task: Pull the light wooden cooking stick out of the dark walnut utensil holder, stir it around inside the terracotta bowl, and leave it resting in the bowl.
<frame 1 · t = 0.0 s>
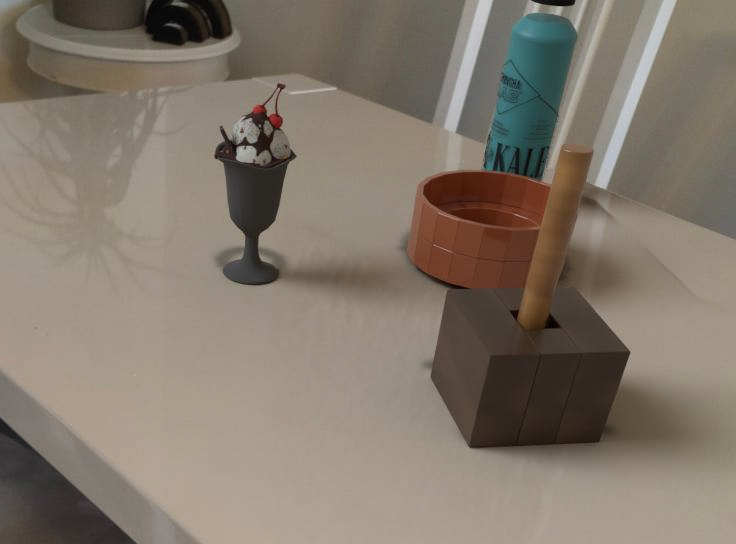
beverage bottle: (506, 201, 103), on the table
holder: (511, 408, 72), on the table
stick: (508, 407, 72), resting in holder
sundae: (250, 274, 87), on the table
bowl: (482, 264, 91), on the table
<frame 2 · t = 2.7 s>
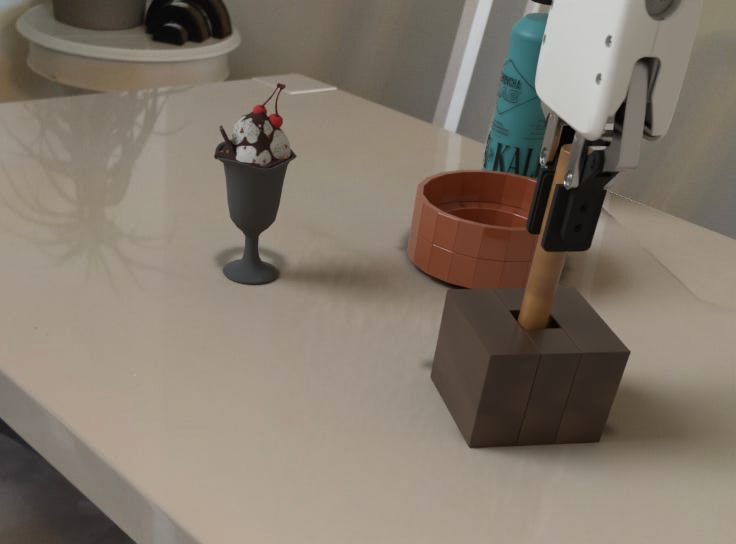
hand: (557, 238, 63), 13 cm above the table, tool pointing down, fingers closed on stick, 2 cm apart
stick: (509, 408, 72), resting in holder, touching gripper
everything else where it was.
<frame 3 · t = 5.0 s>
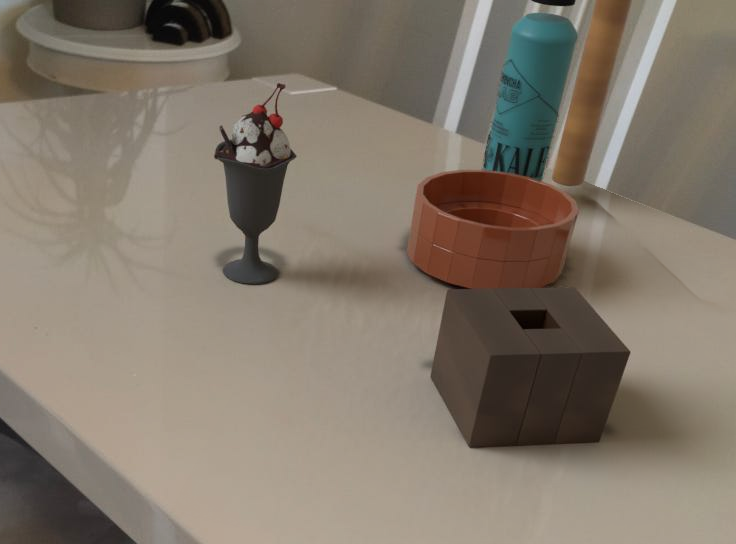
stick: (567, 180, 62), point 16 cm above the table, touching gripper
everything else where it was.
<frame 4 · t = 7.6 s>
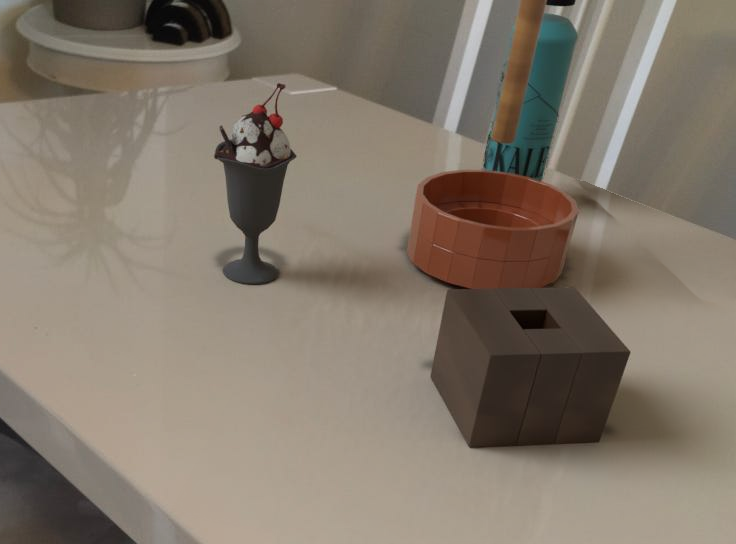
stick: (502, 139, 83), point 11 cm above the table, touching gripper
everything else where it was.
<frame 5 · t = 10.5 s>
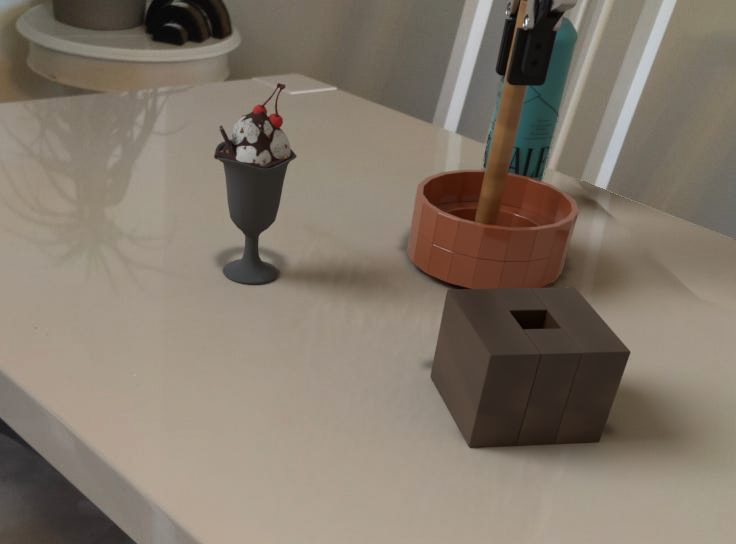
hand: (519, 77, 81), 15 cm above the table, tool pointing down, fingers closed on stick, 2 cm apart
stick: (484, 228, 90), point 3 cm above the table, touching gripper
everything else where it was.
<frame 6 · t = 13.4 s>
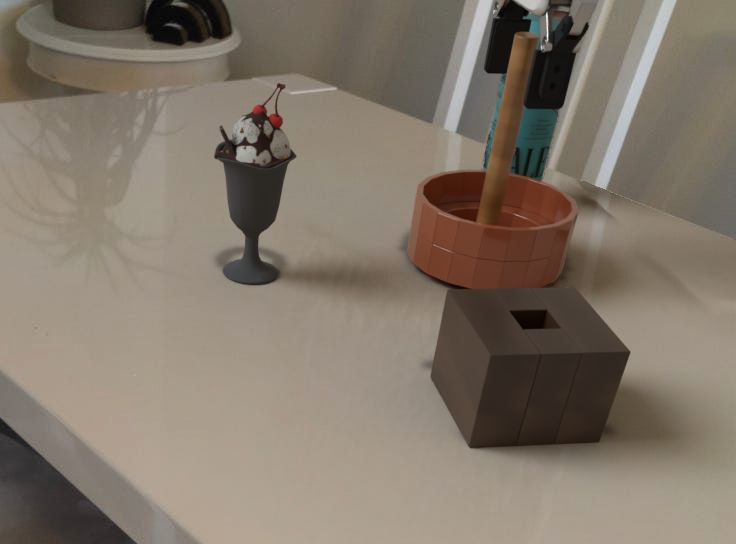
hand: (521, 89, 80), 15 cm above the table, tool pointing down, fingers open, 9 cm apart
stick: (479, 257, 90), point 1 cm above the table, touching bowl
everything else where it was.
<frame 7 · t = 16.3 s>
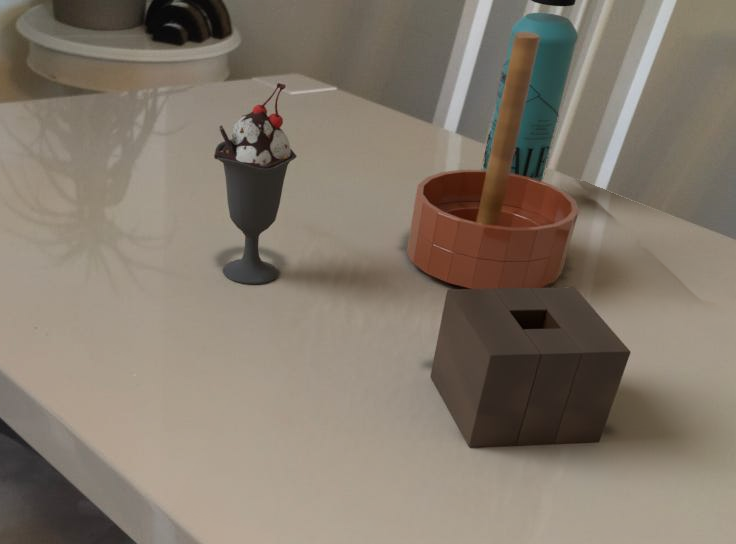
nothing on the table moved.
at the end: stick inside the target area in the bowl (0.4 cm from its centre), point 0.6 cm above the bowl's base; stick moved 25.7 cm from its start; the gripper is holding nothing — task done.
